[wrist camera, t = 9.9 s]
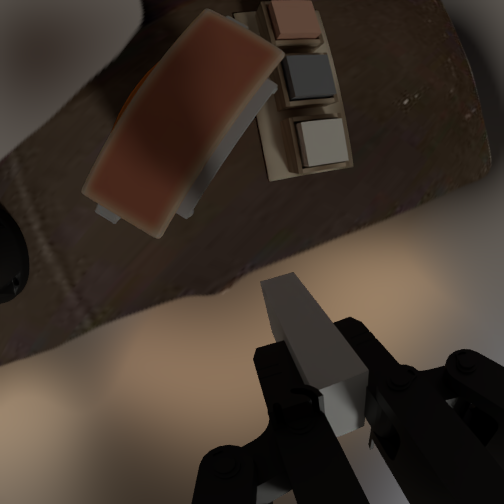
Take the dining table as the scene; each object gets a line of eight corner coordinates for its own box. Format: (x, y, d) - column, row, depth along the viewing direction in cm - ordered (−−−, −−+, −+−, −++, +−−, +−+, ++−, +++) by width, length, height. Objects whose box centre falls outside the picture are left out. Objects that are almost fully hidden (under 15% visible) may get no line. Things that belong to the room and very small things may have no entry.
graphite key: (285, 102, 31) (295, 96, 28) (277, 65, 30) (286, 55, 26) (323, 99, 32) (336, 93, 28) (315, 63, 30) (327, 54, 26)
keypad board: (268, 181, 36) (277, 184, 32) (233, 14, 28) (237, -1, 24) (352, 166, 37) (368, 168, 33) (317, 11, 29) (329, -2, 25)
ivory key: (297, 165, 34) (308, 166, 30) (290, 125, 32) (300, 122, 29) (334, 159, 34) (348, 160, 31) (327, 121, 33) (341, 118, 29)
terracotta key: (272, 45, 29) (280, 33, 25) (264, 14, 27) (271, 0, 23) (310, 43, 29) (321, 33, 25) (301, 13, 27) (311, 0, 24)
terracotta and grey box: (139, 178, 33) (206, 78, 31) (186, 206, 35) (252, 107, 33) (60, 207, 13) (209, -12, 11) (162, 269, 15) (313, 47, 13)
